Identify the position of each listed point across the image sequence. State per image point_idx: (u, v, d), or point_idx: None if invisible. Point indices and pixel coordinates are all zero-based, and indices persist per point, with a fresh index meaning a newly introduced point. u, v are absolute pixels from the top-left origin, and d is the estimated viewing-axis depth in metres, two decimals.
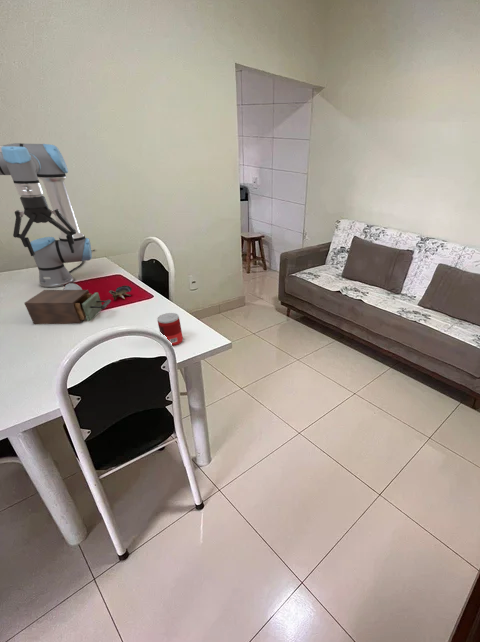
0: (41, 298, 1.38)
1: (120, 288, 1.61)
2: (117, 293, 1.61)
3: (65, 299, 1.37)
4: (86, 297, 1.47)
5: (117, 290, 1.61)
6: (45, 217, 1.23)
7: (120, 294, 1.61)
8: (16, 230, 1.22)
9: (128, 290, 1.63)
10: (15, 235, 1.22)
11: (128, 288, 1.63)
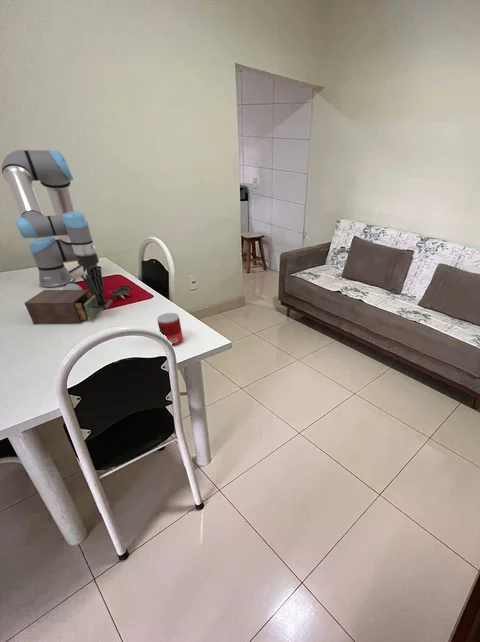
0: (41, 298, 1.38)
1: (120, 288, 1.61)
2: (117, 293, 1.61)
3: (65, 299, 1.37)
4: (88, 297, 1.47)
5: (117, 290, 1.61)
6: (98, 269, 1.37)
7: (120, 294, 1.61)
8: (95, 288, 1.36)
9: (128, 290, 1.63)
10: (97, 292, 1.38)
11: (128, 288, 1.63)
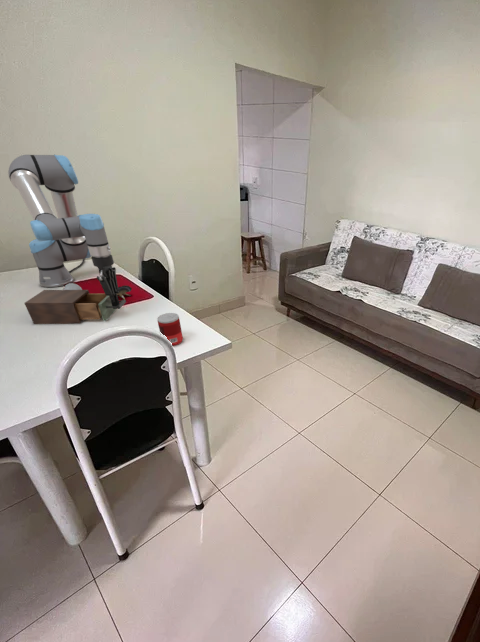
0: (41, 298, 1.38)
1: (120, 288, 1.61)
2: (117, 293, 1.61)
3: (65, 299, 1.37)
4: (101, 297, 1.47)
5: (117, 290, 1.61)
6: (112, 271, 1.38)
7: (120, 294, 1.61)
8: (110, 289, 1.37)
9: (128, 290, 1.63)
10: (112, 293, 1.38)
11: (128, 288, 1.63)
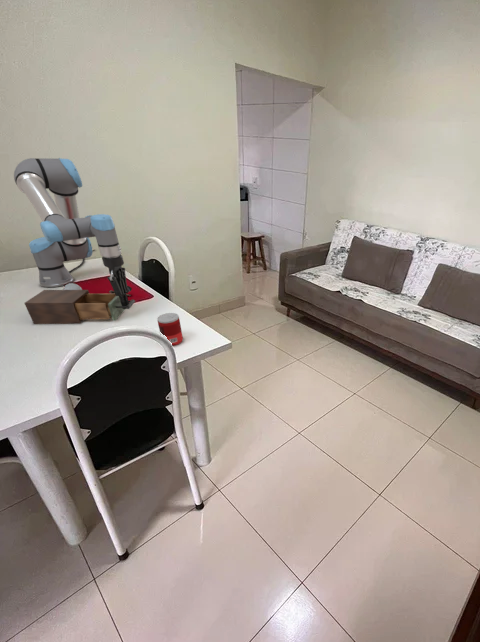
0: (41, 298, 1.38)
1: None
2: None
3: (65, 299, 1.37)
4: (110, 297, 1.47)
5: None
6: (122, 271, 1.39)
7: None
8: (120, 290, 1.38)
9: (128, 290, 1.63)
10: (122, 294, 1.39)
11: (128, 288, 1.63)
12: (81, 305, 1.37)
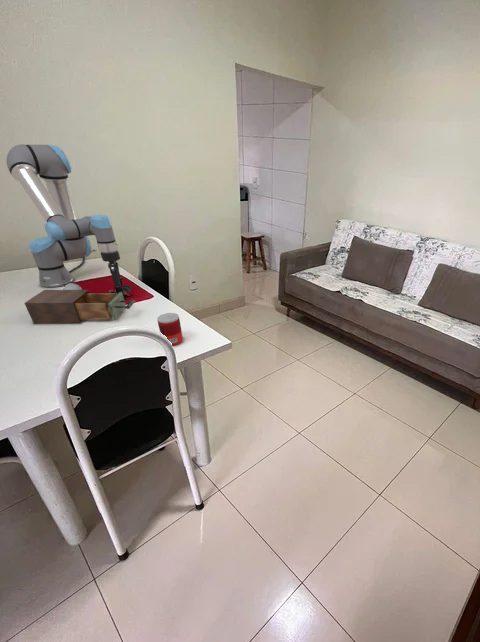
0: (41, 298, 1.38)
1: None
2: None
3: (65, 299, 1.37)
4: (110, 297, 1.47)
5: None
6: None
7: None
8: (119, 281, 1.53)
9: (128, 290, 1.63)
10: (120, 286, 1.54)
11: (128, 288, 1.63)
12: (81, 305, 1.37)
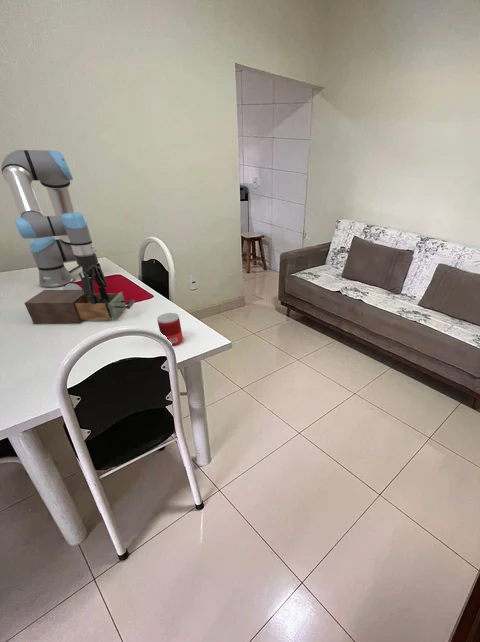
0: (41, 298, 1.38)
1: (100, 301, 1.43)
2: None
3: (65, 299, 1.37)
4: (110, 297, 1.47)
5: None
6: (97, 270, 1.38)
7: None
8: (90, 290, 1.33)
9: (107, 305, 1.43)
10: (91, 294, 1.34)
11: (107, 302, 1.43)
12: (81, 305, 1.37)
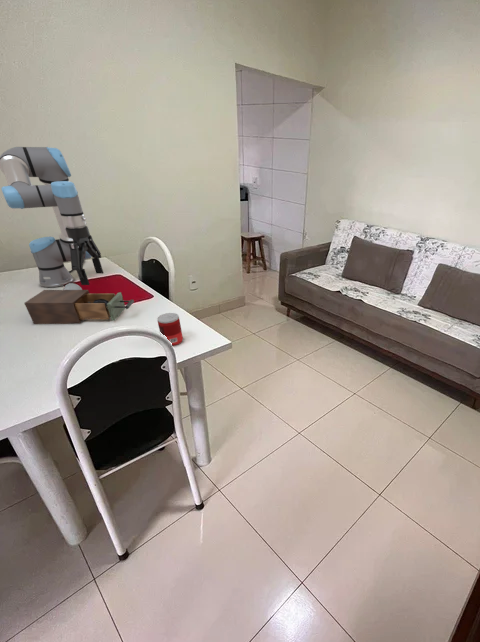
0: (41, 298, 1.38)
1: (98, 301, 1.43)
2: None
3: (65, 299, 1.37)
4: (109, 297, 1.47)
5: (95, 302, 1.43)
6: (89, 244, 1.32)
7: None
8: (78, 262, 1.25)
9: (106, 305, 1.43)
10: (79, 267, 1.26)
11: (106, 302, 1.43)
12: (80, 305, 1.37)
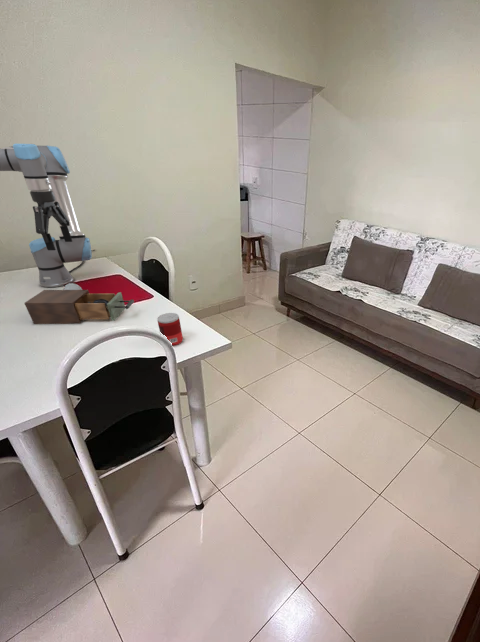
0: (41, 298, 1.38)
1: (98, 301, 1.43)
2: None
3: (65, 299, 1.37)
4: (109, 297, 1.47)
5: (95, 302, 1.43)
6: (55, 209, 1.33)
7: None
8: (43, 226, 1.26)
9: (106, 305, 1.43)
10: (43, 231, 1.26)
11: (106, 302, 1.43)
12: (80, 305, 1.37)
